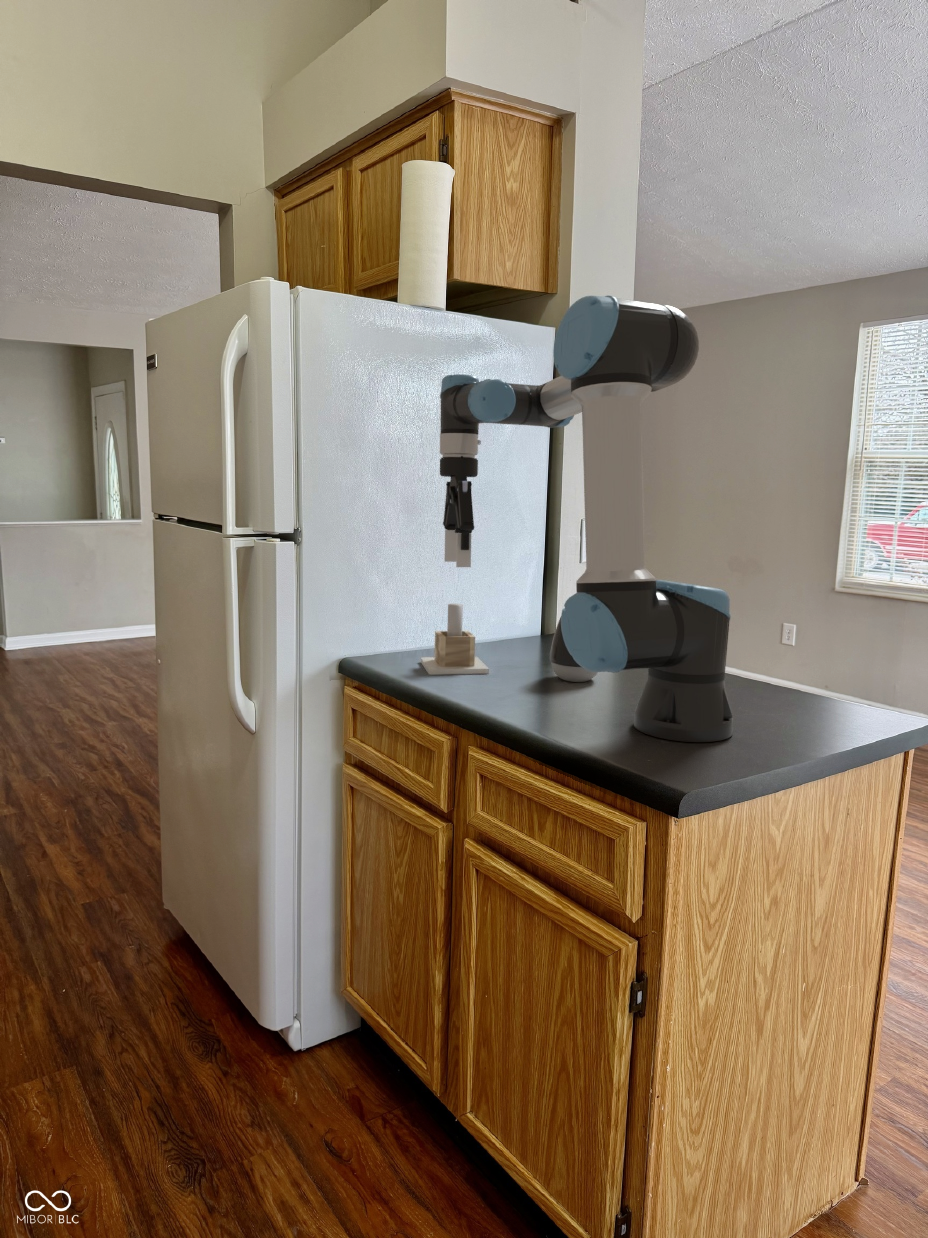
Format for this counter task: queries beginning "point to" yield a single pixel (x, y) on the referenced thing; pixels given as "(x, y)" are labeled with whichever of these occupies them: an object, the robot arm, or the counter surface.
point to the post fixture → (454, 630)
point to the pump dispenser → (566, 661)
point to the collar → (454, 649)
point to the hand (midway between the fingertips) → (457, 564)
